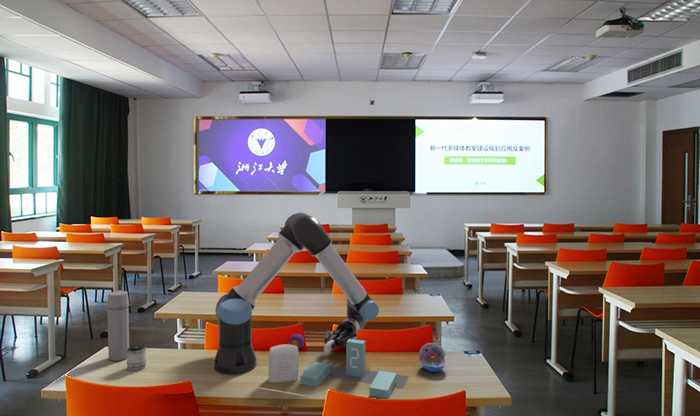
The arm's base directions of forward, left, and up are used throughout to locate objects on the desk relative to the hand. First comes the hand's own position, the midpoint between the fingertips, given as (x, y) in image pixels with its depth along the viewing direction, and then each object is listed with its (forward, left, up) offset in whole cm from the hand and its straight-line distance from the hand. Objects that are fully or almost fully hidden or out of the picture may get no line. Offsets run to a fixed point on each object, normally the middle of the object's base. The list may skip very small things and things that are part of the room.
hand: (325, 349), depth 173 cm
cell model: (+37, +12, -7) cm, 40 cm away
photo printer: (-10, -14, -8) cm, 19 cm away
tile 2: (+12, -2, -7) cm, 14 cm away
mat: (+12, -2, -7) cm, 14 cm away
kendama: (-18, +9, -8) cm, 21 cm away
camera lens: (-64, -23, -7) cm, 68 cm away
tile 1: (0, -3, -5) cm, 6 cm away
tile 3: (+24, -3, -5) cm, 25 cm away
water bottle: (-77, -17, -7) cm, 79 cm away
